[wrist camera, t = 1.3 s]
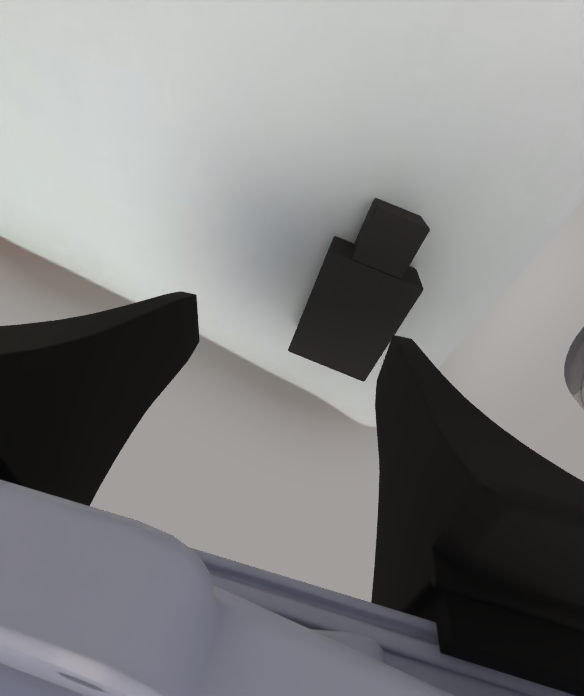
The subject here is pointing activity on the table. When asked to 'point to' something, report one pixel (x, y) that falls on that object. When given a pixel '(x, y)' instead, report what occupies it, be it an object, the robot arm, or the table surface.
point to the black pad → (362, 293)
